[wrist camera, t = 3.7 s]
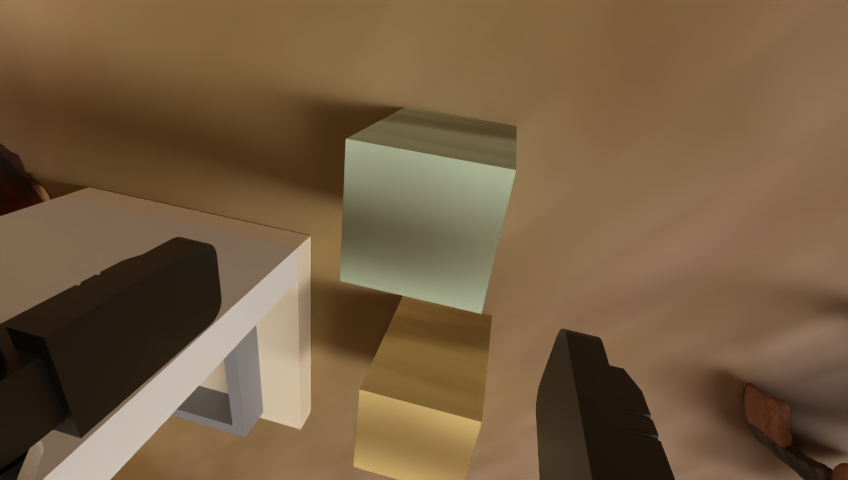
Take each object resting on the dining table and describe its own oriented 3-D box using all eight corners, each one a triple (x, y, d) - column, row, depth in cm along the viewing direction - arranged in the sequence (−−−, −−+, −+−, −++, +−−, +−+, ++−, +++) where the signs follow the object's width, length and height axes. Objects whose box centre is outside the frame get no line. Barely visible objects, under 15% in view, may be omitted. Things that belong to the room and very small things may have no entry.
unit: (87, 180, 23) (-1110, 551, 6) (310, 229, 22) (-497, 938, 4) (136, 362, 30) (-378, 788, 13) (310, 411, 28) (-14, 983, 11)
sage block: (404, 107, 18) (345, 138, 12) (516, 126, 17) (515, 170, 11) (394, 209, 20) (340, 281, 14) (492, 229, 19) (481, 313, 13)
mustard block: (403, 294, 22) (359, 389, 16) (491, 315, 22) (481, 422, 15) (394, 361, 25) (353, 466, 18) (474, 381, 24) (459, 497, 18)
